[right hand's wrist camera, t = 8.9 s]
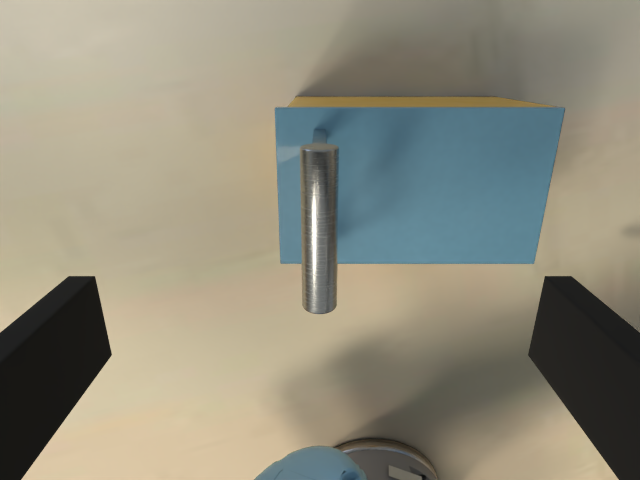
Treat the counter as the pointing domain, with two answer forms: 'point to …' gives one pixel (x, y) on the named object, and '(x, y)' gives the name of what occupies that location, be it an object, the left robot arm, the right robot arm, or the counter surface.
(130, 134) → the counter surface
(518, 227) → the lid
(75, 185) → the counter surface
